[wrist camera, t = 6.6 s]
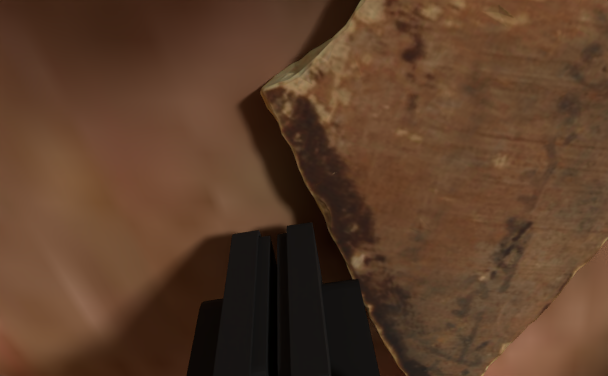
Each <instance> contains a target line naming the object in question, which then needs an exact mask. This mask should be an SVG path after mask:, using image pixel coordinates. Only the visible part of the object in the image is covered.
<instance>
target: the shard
mask: <svg viewBox="0 0 608 376" xmlns="http://www.w3.org/2000/svg"><path fill="white" fill-rule="evenodd" d="M260 94H261V96H262V98H263V100H264V102H265V104H266V107H267V109H268V110H269V111H270V112H271V113H272V114H273V116H274V117H275V119H276V120H277V122H278V123H279V127H280V130H281V134H282V136H283V137H284V139H285V140H286V141H287V143H288V144H289V145H290V147H291V149H292V151H293V154H294V157H295V160H296V163H297V165H298V168H299V171H300V172H301V175H302V177H303V180H304V183H305V185H306V187H307V188H308V190H309V191H310V193H311V194H312V195H313V197H314V199H315V201H316V203H317V205H318V206H319V208H320V210H321V212H322V214H323V215H324V217H325V221H326V224H327V228H328V230H329V232H330V235H331V236H332V238H333V240H334V242H335V244H336V246H337V247H338V249H339V251H340V253H341V254H342V256H343V258H344V260H345V262H346V265H347V268H348V270H349V272H350V274H351V277H352V280H353V279H358V280H359V284H360V288H361V293H362V297H363V302H364V305H365V306H366V307H367V310H368V314H369V317H370V318H371V320H372V321H373V323H374V324H375V326H376V328H377V330H378V332H379V335H380V337H381V338H382V341H383V343H384V345H385V346H386V348H387V349H388V350H389V352H390V353H391V355H392V356H393V358H394V360H395V362H396V364H397V365H398V367H399V368H400V369H401V370H402V371H403V372H404V373H405V375H406V376H483V375H484V373H485V371H486V370H487V368H488V366H489V365H490V364H491V363H492V362H494V361H495V360H496V359H497V358H498V357H499V356H500V355H501V354H502V353H503V352H504V350H505V349H506V348H507V347H508V345H509V344H510V343H512V342H513V341H514V340H515V339H516V338H517V337H518V336H519V335H520V334H521V333H522V332H523V331H524V330H525V329H526V328H527V326H528V325H530V324H531V323H532V322H534V321H535V320H536V319H537V318H538V317H539V316H540V315H541V314H542V313H543V311H544V310H545V309H546V308H547V307H548V306H549V305H550V304H551V303H552V302H553V301H554V300H555V299H556V298H557V296H558V295H559V294H560V293H561V291H562V290H563V289H564V287H565V286H566V285H567V283H568V282H569V281H570V279H571V278H572V277H573V276H574V274H575V273H576V272H577V270H578V269H580V268H581V267H583V266H584V265H585V264H586V263H587V262H588V261H590V260H591V258H592V257H593V256H594V255H595V254H596V253H597V252H598V251H599V249H600V248H601V247H602V245H603V244H604V242H605V241H606V240H607V239H608V0H361V1H360V3H359V4H358V6H357V7H356V9H355V11H354V12H353V14H352V16H351V17H350V19H349V20H348V22H347V23H346V25H345V26H344V27H343V28H342V29H341V30H340V31H339V32H338V33H337V34H336V35H335V36H334V37H333V38H331V39H329V40H328V41H326V42H325V43H323V44H322V45H320V46H319V47H317V48H315V49H313V50H311V51H310V52H308V53H307V54H306V55H305V56H304V57H303V58H302V59H301V60H299V61H298V62H295V63H293V64H291V65H289V66H288V67H286V68H285V69H284V70H283V71H281V72H280V73H279V74H277V75H275V76H274V77H272V78H271V79H270V80H269V82H268V83H266V84H265V85H264V86H263V87H262V89H261V92H260Z"/></svg>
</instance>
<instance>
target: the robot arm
mask: <svg viewBox="0 0 608 376" xmlns="http://www.w3.org/2000/svg"><path fill="white" fill-rule="evenodd" d="M187 376H380V374H379V369H378V365H377V360H376V356H375V351H374V347H373V342H372V338H371V333H370V329H369V324H368V320H367V315H366V311H365V306H364V302H363V297H362V293H361V288H360V284H359V280H358V279H353V280H346V281H339V282H332V283H325V284H323V282H322V276H321V270H320V264H319V258H318V252H317V247H316V241H315V235H314V229H313V223H312V222H310V223H303V224H297V225H290V226H287V233H283V234H278V235H277V263H276V259H275V254H274V250H273V245H272V241H271V237H270V236H263V237H261V234H260V231H259V230H257V231H250V232H244V233H237V234H233V235H232V240H231V248H230V255H229V262H228V269H227V277H226V284H225V291H224V299H217V300H211V301H204V302H203V303H202V304H201V306H200V309H199V314H198V320H197V325H196V330H195V335H194V340H193V345H192V351H191V356H190V361H189V366H188V371H187Z"/></svg>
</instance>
